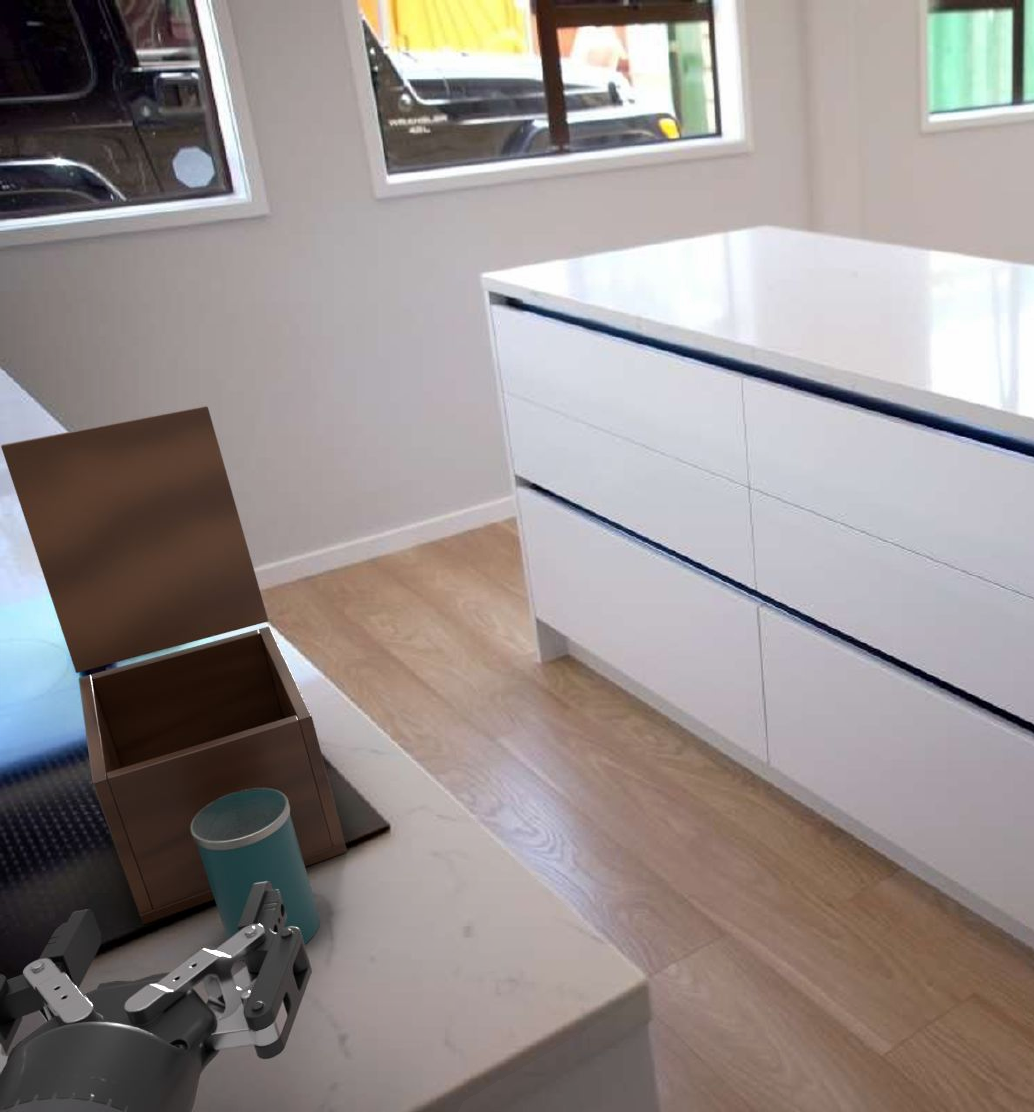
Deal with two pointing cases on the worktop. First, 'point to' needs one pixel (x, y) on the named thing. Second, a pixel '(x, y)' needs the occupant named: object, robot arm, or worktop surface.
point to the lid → (136, 535)
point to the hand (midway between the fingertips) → (178, 909)
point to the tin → (254, 856)
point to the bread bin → (200, 758)
